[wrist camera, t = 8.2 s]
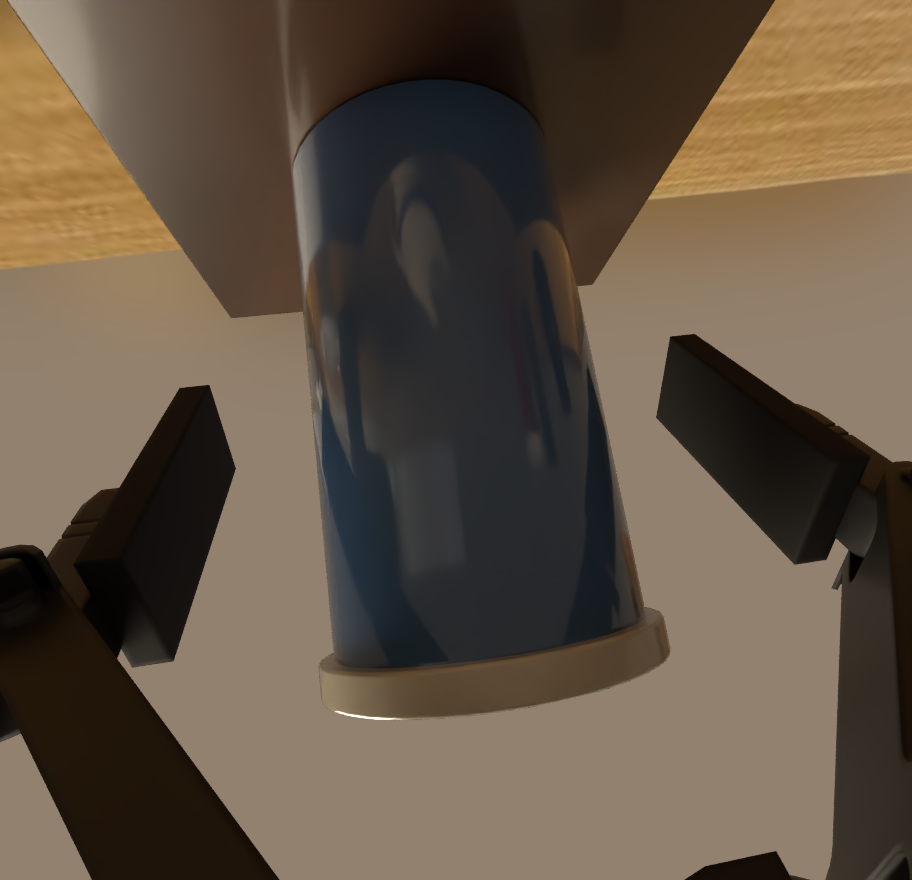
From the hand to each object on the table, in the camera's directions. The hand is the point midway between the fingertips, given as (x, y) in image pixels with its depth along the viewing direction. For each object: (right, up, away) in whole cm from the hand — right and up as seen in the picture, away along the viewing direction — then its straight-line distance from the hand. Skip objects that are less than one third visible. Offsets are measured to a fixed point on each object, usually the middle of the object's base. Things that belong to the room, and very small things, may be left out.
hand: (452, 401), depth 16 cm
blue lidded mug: (-1, +6, +1) cm, 6 cm away
